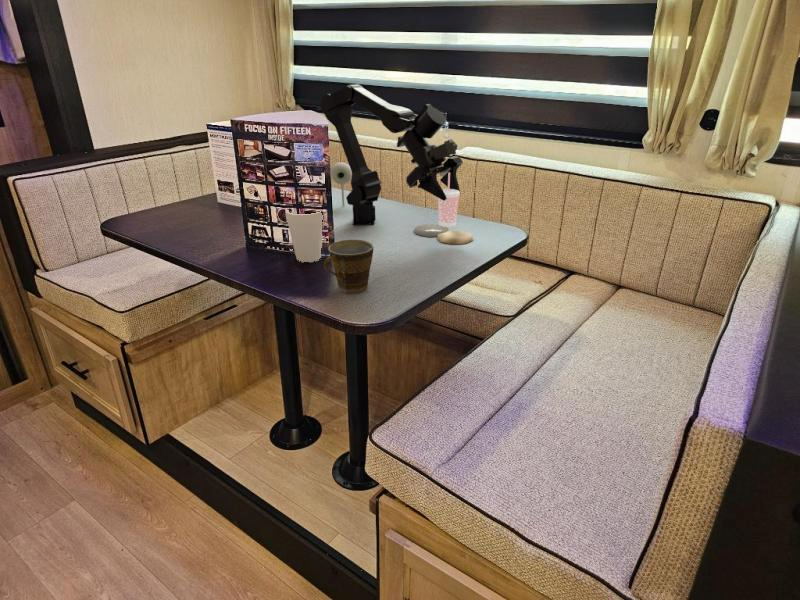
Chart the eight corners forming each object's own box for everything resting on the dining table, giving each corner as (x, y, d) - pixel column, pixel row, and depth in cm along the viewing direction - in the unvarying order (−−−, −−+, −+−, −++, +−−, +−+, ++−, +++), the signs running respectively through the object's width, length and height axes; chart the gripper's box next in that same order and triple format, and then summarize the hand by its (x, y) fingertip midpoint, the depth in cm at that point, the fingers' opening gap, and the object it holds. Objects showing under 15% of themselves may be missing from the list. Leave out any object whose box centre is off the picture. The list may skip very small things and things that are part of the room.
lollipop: (332, 210, 181) (329, 164, 175) (333, 204, 188) (330, 160, 181) (354, 209, 182) (351, 164, 175) (353, 203, 188) (351, 159, 182)
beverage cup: (433, 221, 150) (434, 171, 144) (453, 220, 151) (456, 169, 145) (440, 228, 145) (442, 176, 138) (461, 226, 146) (464, 174, 140)
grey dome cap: (415, 237, 155) (415, 235, 155) (413, 226, 164) (413, 224, 164) (450, 236, 156) (450, 234, 155) (445, 225, 165) (445, 223, 164)
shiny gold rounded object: (439, 244, 149) (439, 242, 149) (435, 233, 158) (435, 231, 158) (475, 243, 150) (475, 241, 149) (469, 232, 159) (469, 230, 158)
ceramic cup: (353, 276, 130) (351, 236, 126) (384, 286, 124) (382, 245, 120) (312, 293, 122) (308, 251, 117) (342, 306, 116) (339, 262, 111)
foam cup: (332, 253, 144) (329, 205, 139) (318, 266, 136) (314, 216, 131) (299, 250, 147) (295, 203, 141) (284, 262, 139) (278, 213, 133)
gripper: (415, 134, 133) (450, 186, 132) (458, 125, 146) (491, 172, 144) (391, 162, 141) (424, 211, 140) (434, 151, 154) (465, 196, 152)
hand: (452, 197), depth 144 cm, fingers closed on beverage cup, 6 cm apart
